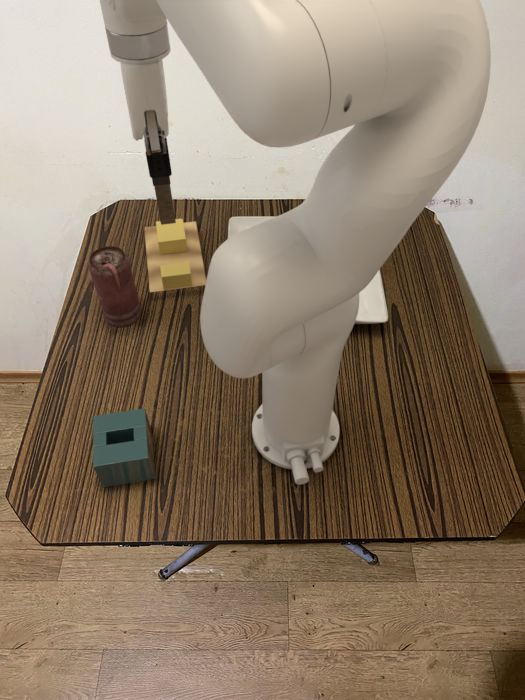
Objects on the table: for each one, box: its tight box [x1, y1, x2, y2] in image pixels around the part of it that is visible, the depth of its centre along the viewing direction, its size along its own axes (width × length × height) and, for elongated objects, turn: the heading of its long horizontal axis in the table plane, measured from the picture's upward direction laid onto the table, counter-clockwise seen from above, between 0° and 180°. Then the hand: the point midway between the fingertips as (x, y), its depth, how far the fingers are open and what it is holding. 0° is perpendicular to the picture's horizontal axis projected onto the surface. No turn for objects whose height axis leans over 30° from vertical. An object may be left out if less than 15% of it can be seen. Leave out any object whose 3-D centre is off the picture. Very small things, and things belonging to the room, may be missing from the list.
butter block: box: [155, 218, 187, 255], centre depth 107 cm, size 6×5×3 cm
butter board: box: [144, 221, 207, 293], centre depth 106 cm, size 18×10×2 cm, turn 10°
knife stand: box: [92, 407, 156, 489], centre depth 78 cm, size 8×7×6 cm
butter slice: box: [160, 262, 192, 291], centre depth 100 cm, size 3×5×3 cm, turn 100°
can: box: [87, 245, 142, 329], centre depth 92 cm, size 6×6×14 cm
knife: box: [149, 138, 176, 225], centre depth 87 cm, size 2×3×15 cm
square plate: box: [227, 215, 389, 325], centre depth 102 cm, size 27×27×4 cm
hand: (160, 169), depth 85 cm, fingers closed on knife, 2 cm apart
